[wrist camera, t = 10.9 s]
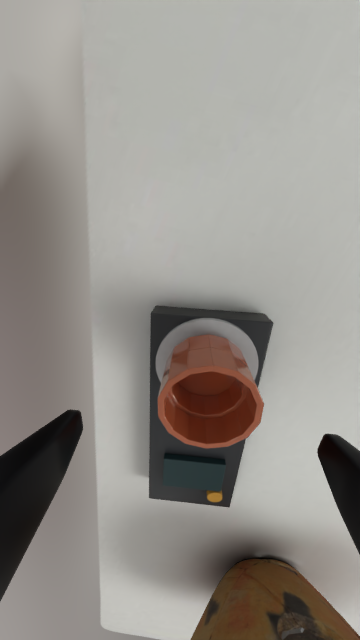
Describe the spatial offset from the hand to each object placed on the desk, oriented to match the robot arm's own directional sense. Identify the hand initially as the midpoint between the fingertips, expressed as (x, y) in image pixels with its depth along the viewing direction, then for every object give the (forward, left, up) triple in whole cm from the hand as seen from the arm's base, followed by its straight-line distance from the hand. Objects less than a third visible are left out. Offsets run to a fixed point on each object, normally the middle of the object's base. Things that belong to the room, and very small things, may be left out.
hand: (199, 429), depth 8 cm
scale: (+5, -8, -11) cm, 14 cm away
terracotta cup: (+2, -2, -8) cm, 9 cm away
